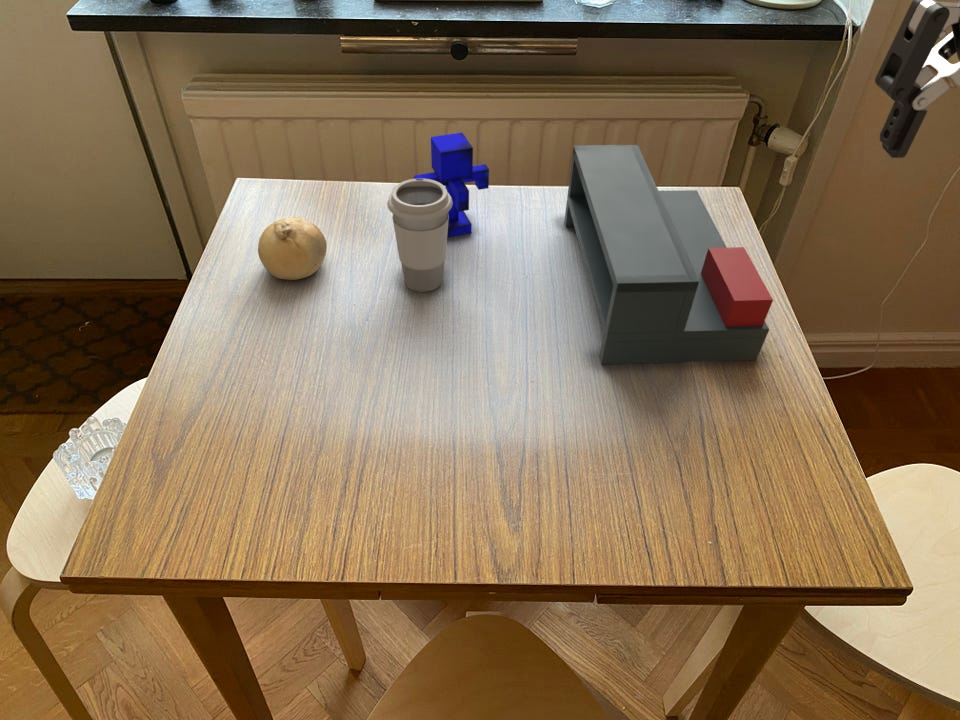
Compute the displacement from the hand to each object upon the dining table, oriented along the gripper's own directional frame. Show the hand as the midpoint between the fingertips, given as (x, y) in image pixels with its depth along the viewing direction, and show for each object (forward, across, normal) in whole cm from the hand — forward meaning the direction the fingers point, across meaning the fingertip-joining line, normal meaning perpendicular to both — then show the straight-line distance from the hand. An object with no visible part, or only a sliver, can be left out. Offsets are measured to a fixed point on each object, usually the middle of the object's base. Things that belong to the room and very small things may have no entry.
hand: (948, 152), depth 52 cm
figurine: (+28, -36, +33) cm, 56 cm away
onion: (+28, -55, +25) cm, 66 cm away
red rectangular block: (+24, -6, +12) cm, 27 cm away
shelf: (+28, -12, +20) cm, 37 cm away
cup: (+28, -39, +22) cm, 53 cm away
